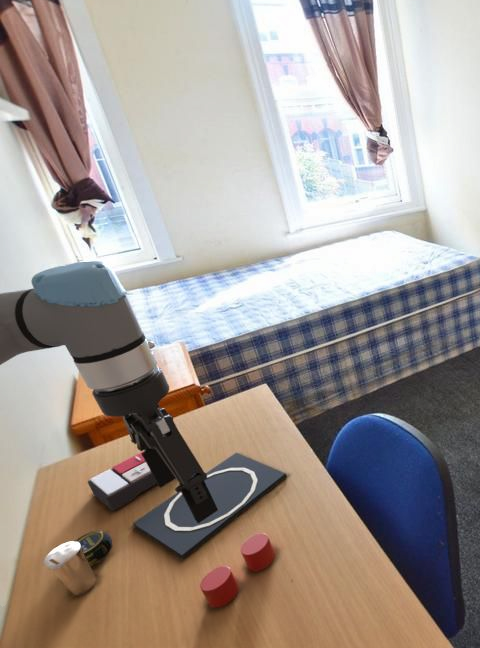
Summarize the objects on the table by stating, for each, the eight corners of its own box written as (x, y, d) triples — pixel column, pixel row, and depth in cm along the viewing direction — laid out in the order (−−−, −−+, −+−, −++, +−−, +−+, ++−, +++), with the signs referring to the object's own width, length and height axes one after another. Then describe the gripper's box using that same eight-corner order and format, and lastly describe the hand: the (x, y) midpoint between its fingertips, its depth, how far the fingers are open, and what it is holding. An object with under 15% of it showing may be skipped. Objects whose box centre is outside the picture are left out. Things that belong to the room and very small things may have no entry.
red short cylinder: (258, 575, 80) (250, 558, 78) (242, 565, 82) (235, 549, 80) (280, 554, 83) (273, 538, 82) (264, 545, 86) (258, 529, 84)
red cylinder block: (218, 612, 74) (209, 595, 73) (203, 601, 76) (194, 584, 75) (244, 588, 78) (236, 571, 76) (228, 578, 80) (220, 562, 78)
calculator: (183, 453, 107) (105, 495, 96) (189, 468, 109) (113, 511, 97) (162, 439, 113) (85, 478, 101) (167, 454, 115) (92, 493, 103)
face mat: (183, 559, 85) (181, 555, 84) (134, 526, 93) (132, 522, 93) (287, 476, 102) (285, 472, 101) (237, 455, 110) (236, 452, 110)
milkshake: (62, 608, 78) (32, 566, 74) (72, 582, 82) (44, 542, 78) (96, 594, 80) (68, 553, 76) (104, 570, 84) (78, 529, 80)
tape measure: (65, 563, 86) (55, 548, 85) (110, 536, 91) (101, 522, 90) (74, 582, 82) (64, 567, 81) (120, 553, 87) (111, 538, 86)
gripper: (196, 385, 57) (252, 513, 66) (126, 346, 71) (180, 455, 80) (125, 419, 52) (196, 553, 60) (64, 369, 66) (128, 483, 74)
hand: (187, 497), depth 70 cm, fingers open, 13 cm apart
